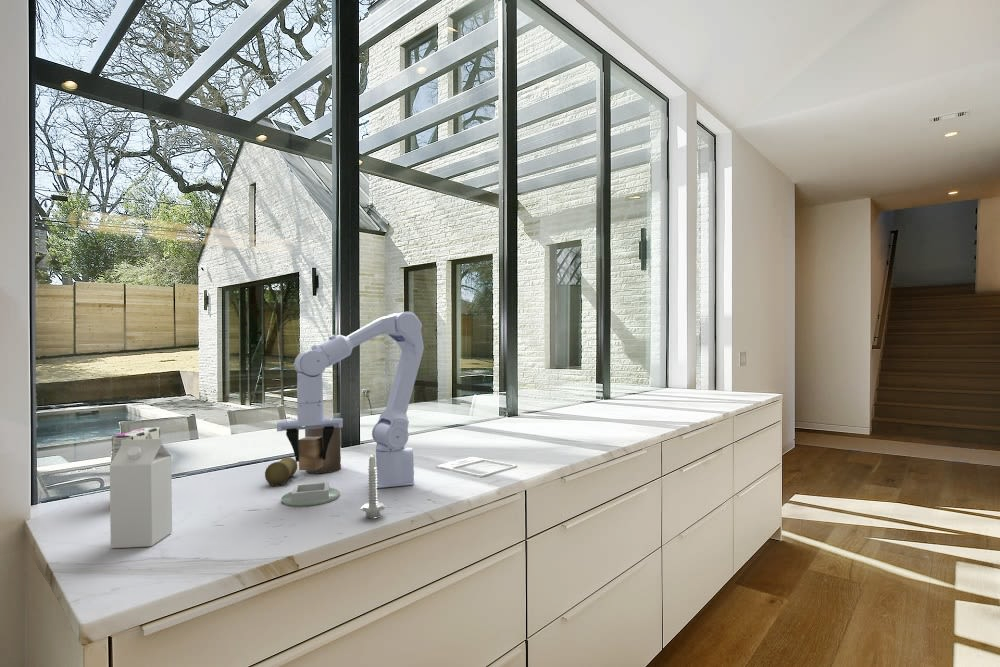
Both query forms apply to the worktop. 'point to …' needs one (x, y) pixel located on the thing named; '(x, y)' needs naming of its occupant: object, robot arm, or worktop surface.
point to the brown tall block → (310, 453)
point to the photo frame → (471, 461)
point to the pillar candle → (328, 450)
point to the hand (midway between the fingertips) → (311, 459)
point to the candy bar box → (134, 437)
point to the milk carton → (140, 494)
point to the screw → (372, 492)
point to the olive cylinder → (280, 471)
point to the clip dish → (310, 494)
